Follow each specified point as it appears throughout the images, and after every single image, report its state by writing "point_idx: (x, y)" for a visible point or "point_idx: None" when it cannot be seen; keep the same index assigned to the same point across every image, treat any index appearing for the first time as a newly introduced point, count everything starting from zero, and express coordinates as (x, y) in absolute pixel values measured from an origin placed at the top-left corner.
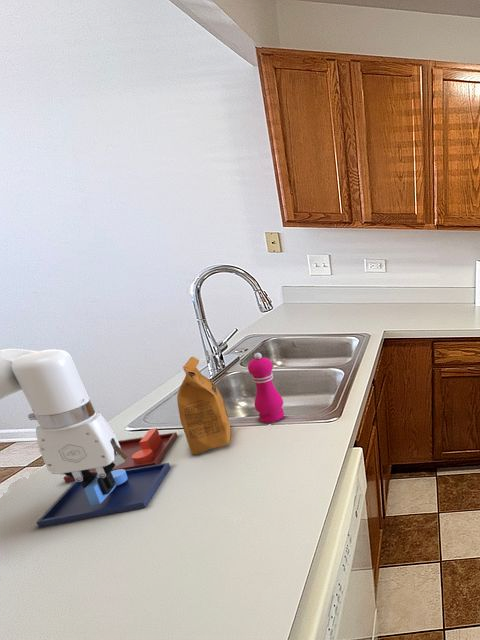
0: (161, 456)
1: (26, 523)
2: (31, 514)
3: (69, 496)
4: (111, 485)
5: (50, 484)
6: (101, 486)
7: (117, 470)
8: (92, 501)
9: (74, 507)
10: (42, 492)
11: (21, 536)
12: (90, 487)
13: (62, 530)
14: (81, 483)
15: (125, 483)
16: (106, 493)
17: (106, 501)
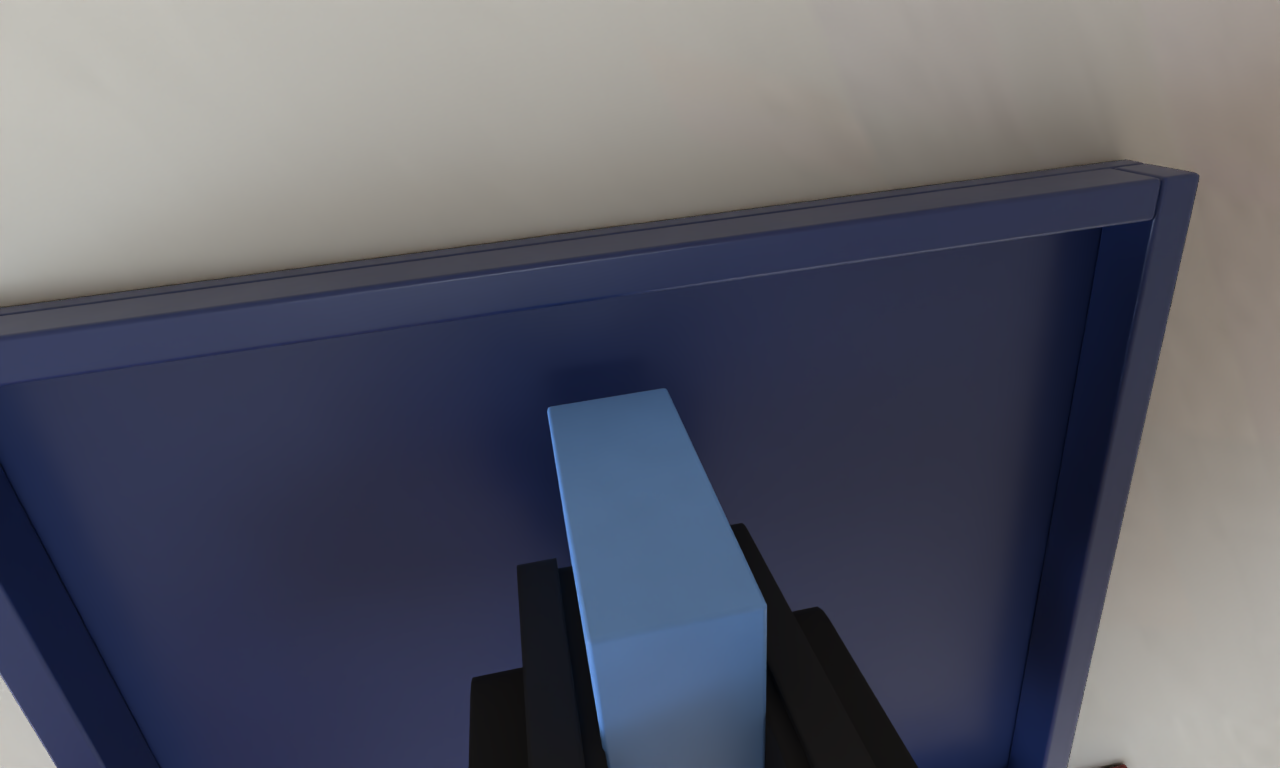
0: None
1: (1261, 273)
2: (1255, 405)
3: (1025, 604)
4: (472, 707)
5: (1225, 749)
6: (559, 680)
7: None
8: (642, 428)
9: (900, 438)
10: (1252, 670)
11: (1250, 42)
12: (655, 638)
13: (846, 39)
14: (903, 744)
15: None
16: (524, 571)
17: None
